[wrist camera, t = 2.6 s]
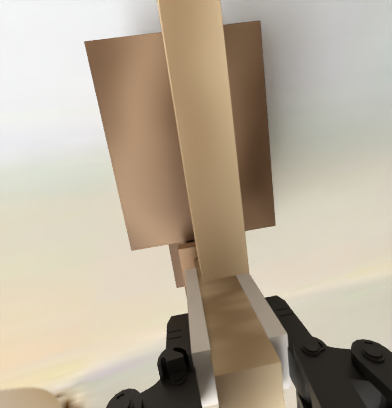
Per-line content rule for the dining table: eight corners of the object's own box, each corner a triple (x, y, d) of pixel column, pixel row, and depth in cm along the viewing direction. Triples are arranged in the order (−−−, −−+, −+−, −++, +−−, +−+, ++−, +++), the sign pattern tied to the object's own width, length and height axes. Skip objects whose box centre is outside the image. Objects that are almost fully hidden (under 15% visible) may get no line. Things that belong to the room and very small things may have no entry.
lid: (252, 32, 17) (364, -150, 7) (271, 261, 21) (358, 355, 11) (92, 52, 16) (-42, -119, 6) (143, 284, 20) (113, 407, 10)
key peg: (218, 214, 24) (307, 332, 8) (223, 252, 25) (311, 428, 9) (177, 221, 23) (181, 358, 7) (184, 259, 24) (199, 453, 8)
